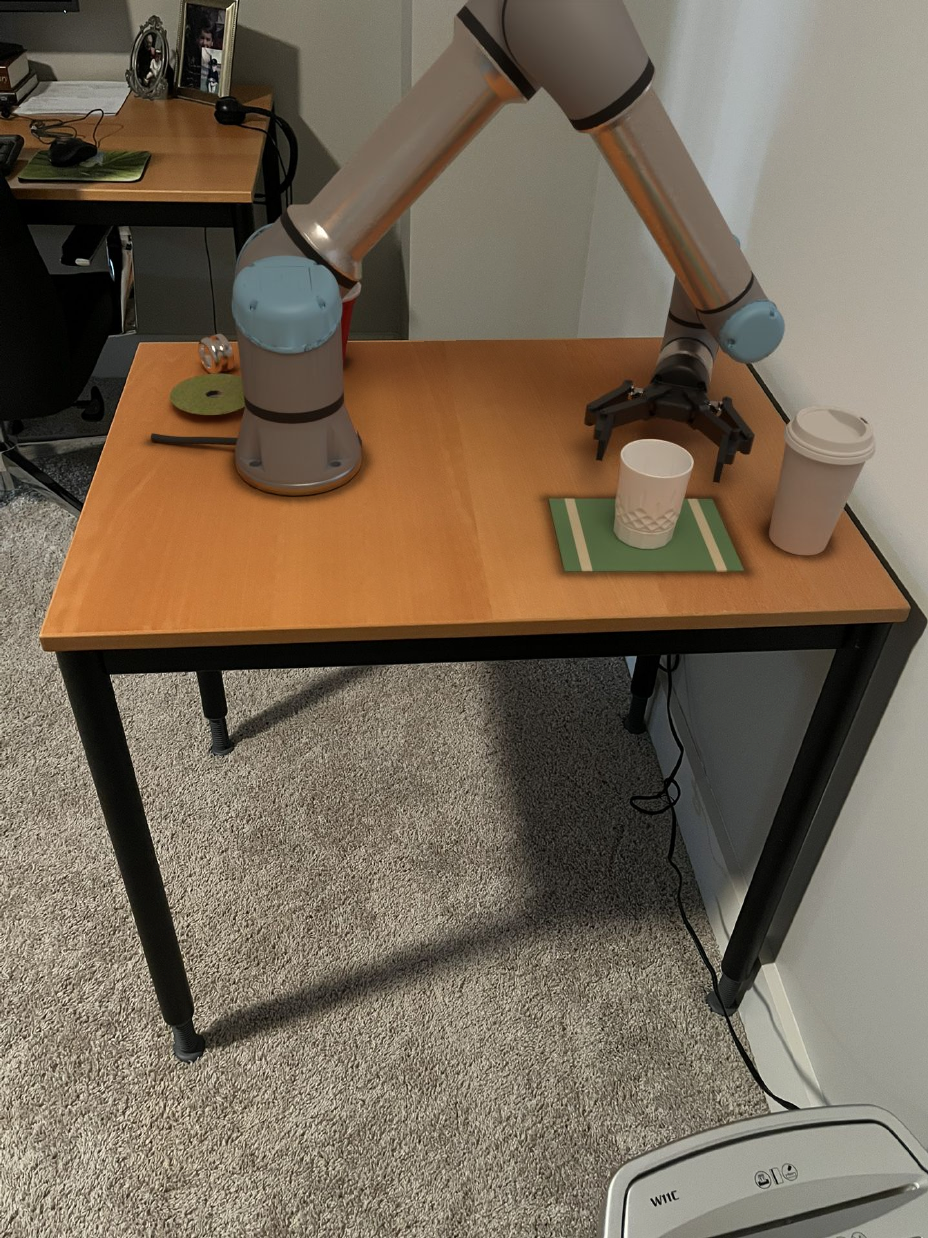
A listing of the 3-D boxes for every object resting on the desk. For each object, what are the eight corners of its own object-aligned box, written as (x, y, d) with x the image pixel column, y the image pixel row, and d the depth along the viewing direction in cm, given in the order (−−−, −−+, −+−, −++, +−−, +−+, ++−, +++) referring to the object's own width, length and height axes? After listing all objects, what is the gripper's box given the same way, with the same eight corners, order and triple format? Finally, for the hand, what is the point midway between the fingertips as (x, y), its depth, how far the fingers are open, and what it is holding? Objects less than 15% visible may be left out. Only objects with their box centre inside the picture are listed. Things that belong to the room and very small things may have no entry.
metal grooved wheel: (235, 374, 139) (232, 340, 135) (217, 380, 137) (212, 346, 134) (217, 361, 141) (213, 328, 138) (198, 367, 140) (194, 333, 137)
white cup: (633, 560, 110) (648, 483, 103) (594, 522, 115) (606, 447, 108) (690, 542, 113) (708, 467, 106) (650, 506, 118) (664, 432, 111)
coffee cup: (846, 568, 110) (889, 451, 101) (759, 559, 111) (794, 442, 101) (832, 519, 118) (871, 406, 108) (751, 511, 118) (783, 397, 109)
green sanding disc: (258, 425, 129) (257, 411, 127) (169, 429, 127) (167, 415, 126) (257, 384, 137) (256, 371, 136) (174, 387, 135) (171, 374, 134)
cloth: (564, 573, 108) (564, 570, 108) (548, 501, 119) (548, 498, 118) (743, 572, 109) (744, 569, 109) (711, 501, 120) (712, 498, 120)
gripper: (770, 422, 129) (761, 509, 114) (583, 389, 134) (549, 469, 118) (785, 369, 125) (777, 452, 109) (590, 337, 129) (556, 413, 114)
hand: (658, 461), depth 114 cm, fingers open, 13 cm apart
